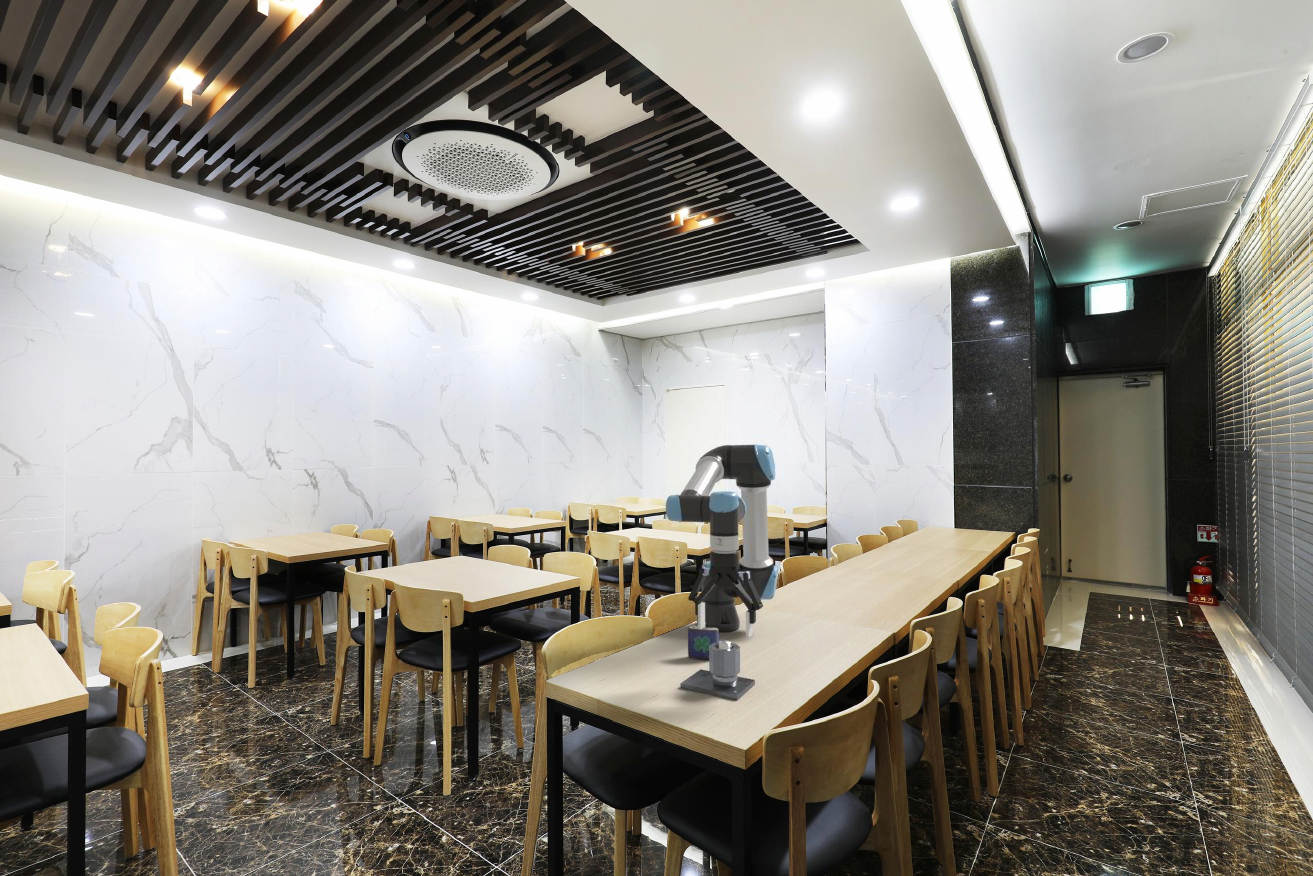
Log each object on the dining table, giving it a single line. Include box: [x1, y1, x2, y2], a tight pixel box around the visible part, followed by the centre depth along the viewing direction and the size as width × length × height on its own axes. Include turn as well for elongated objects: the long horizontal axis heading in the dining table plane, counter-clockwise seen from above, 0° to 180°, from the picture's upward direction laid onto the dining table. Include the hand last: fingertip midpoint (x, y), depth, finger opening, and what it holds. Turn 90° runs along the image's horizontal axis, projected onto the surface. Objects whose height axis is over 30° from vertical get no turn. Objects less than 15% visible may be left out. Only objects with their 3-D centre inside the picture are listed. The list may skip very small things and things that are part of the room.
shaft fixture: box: [679, 639, 756, 701], centre depth 162 cm, size 12×16×12 cm
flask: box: [687, 622, 720, 661], centre depth 184 cm, size 9×3×11 cm, turn 78°
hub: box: [708, 641, 741, 677], centre depth 161 cm, size 7×7×6 cm
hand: (725, 632), depth 161 cm, fingers open, 13 cm apart
